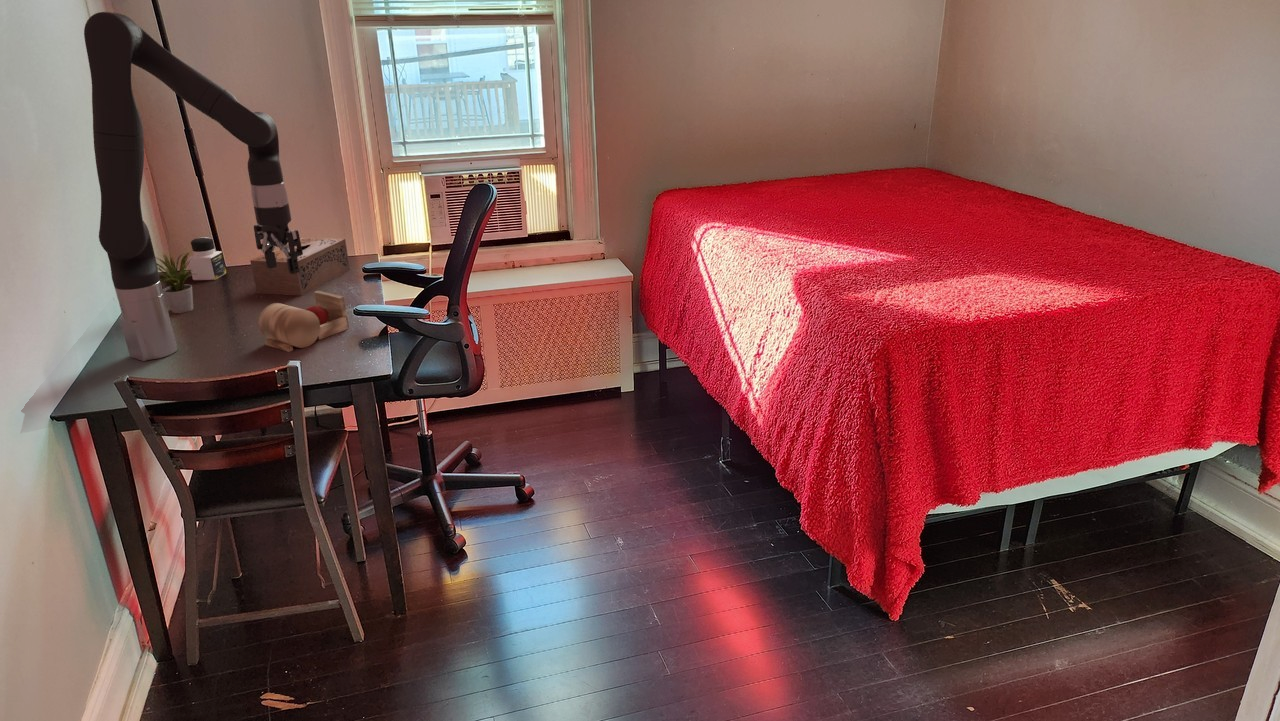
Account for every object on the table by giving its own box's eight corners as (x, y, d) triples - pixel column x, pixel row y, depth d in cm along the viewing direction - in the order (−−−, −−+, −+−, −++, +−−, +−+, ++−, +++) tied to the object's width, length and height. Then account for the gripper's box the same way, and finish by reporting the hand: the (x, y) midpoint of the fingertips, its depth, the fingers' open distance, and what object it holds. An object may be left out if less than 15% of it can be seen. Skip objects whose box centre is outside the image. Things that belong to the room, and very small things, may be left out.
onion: (311, 318, 204) (337, 308, 210) (295, 306, 205) (322, 297, 212) (309, 337, 207) (335, 327, 213) (294, 325, 209) (320, 316, 215)
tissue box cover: (301, 296, 237) (295, 262, 233) (257, 294, 240) (250, 260, 236) (350, 270, 260) (345, 238, 256) (309, 268, 263) (303, 237, 259)
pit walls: (319, 339, 204) (313, 308, 201) (288, 330, 211) (282, 300, 208) (352, 327, 212) (346, 297, 209) (320, 319, 218) (315, 289, 215)
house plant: (180, 298, 237) (166, 242, 230) (223, 301, 234) (210, 244, 228) (143, 316, 224) (127, 256, 218) (188, 318, 221) (173, 258, 215)
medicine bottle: (216, 280, 253) (207, 241, 248) (192, 280, 253) (183, 241, 248) (227, 273, 259) (218, 235, 255) (204, 273, 260) (195, 235, 255)
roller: (323, 340, 204) (316, 305, 200) (291, 352, 197) (283, 316, 193) (294, 332, 209) (288, 298, 206) (262, 344, 203) (255, 309, 199)
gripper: (237, 202, 194) (251, 270, 200) (275, 209, 187) (288, 279, 193) (266, 196, 200) (278, 262, 206) (304, 203, 192) (315, 271, 199)
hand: (283, 270), depth 199 cm, fingers open, 8 cm apart
